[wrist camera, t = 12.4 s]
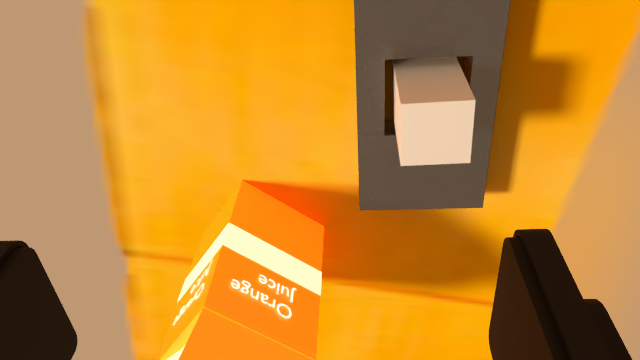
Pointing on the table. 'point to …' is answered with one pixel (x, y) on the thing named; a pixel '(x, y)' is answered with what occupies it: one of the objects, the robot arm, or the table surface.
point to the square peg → (432, 111)
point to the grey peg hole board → (425, 42)
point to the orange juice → (251, 285)
